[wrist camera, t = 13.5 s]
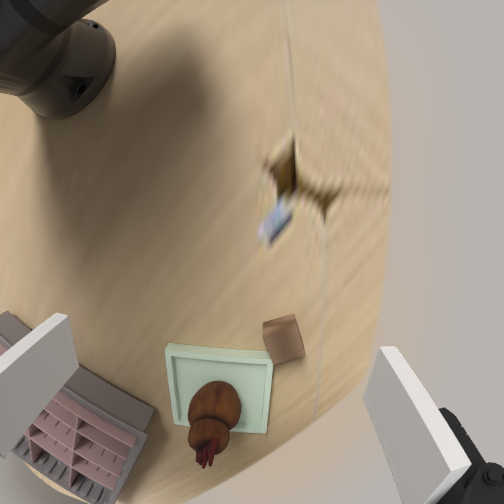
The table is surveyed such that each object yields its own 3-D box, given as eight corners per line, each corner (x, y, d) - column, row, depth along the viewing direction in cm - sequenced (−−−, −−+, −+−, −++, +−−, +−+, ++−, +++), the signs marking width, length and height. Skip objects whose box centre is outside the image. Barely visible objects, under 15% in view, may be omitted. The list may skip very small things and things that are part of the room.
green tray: (177, 416, 42) (174, 424, 40) (168, 342, 39) (164, 349, 37) (266, 424, 41) (266, 433, 39) (273, 351, 38) (273, 359, 36)
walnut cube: (272, 348, 38) (273, 364, 34) (263, 322, 38) (262, 337, 34) (302, 339, 38) (305, 355, 34) (293, 313, 37) (297, 327, 33)
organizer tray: (13, 422, 48) (-6, 444, 38) (10, 301, 40) (-27, 323, 30) (119, 490, 50) (107, 519, 40) (163, 402, 42) (143, 446, 32)
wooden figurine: (227, 367, 38) (209, 450, 24) (250, 395, 39) (243, 478, 25) (188, 385, 39) (159, 463, 25) (211, 411, 40) (193, 489, 26)
